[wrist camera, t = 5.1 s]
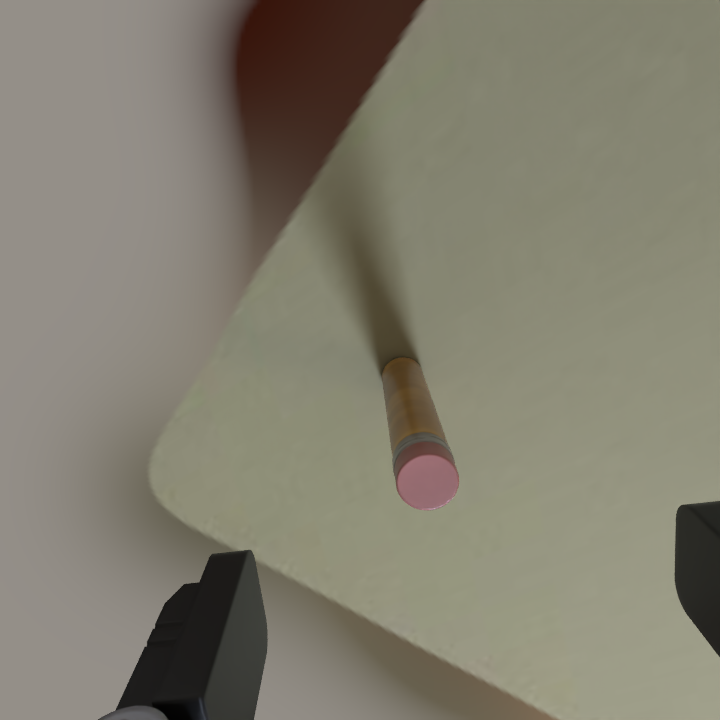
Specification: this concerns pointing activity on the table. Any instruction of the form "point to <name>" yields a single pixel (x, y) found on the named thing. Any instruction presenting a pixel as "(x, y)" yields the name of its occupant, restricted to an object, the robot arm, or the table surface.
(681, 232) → the table surface
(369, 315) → the table surface
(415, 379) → the pencil
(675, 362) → the table surface
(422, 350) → the table surface
